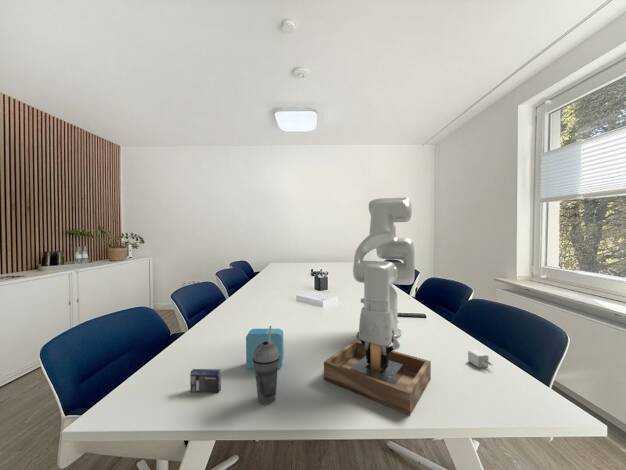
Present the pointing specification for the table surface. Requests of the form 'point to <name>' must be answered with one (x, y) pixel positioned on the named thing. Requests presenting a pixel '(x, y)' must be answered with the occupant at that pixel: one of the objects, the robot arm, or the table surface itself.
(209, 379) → the mini dv tape
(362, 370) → the bore plate
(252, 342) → the data package
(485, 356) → the usb wall charger
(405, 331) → the table surface
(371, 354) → the peg
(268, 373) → the beverage cup
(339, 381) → the open box
